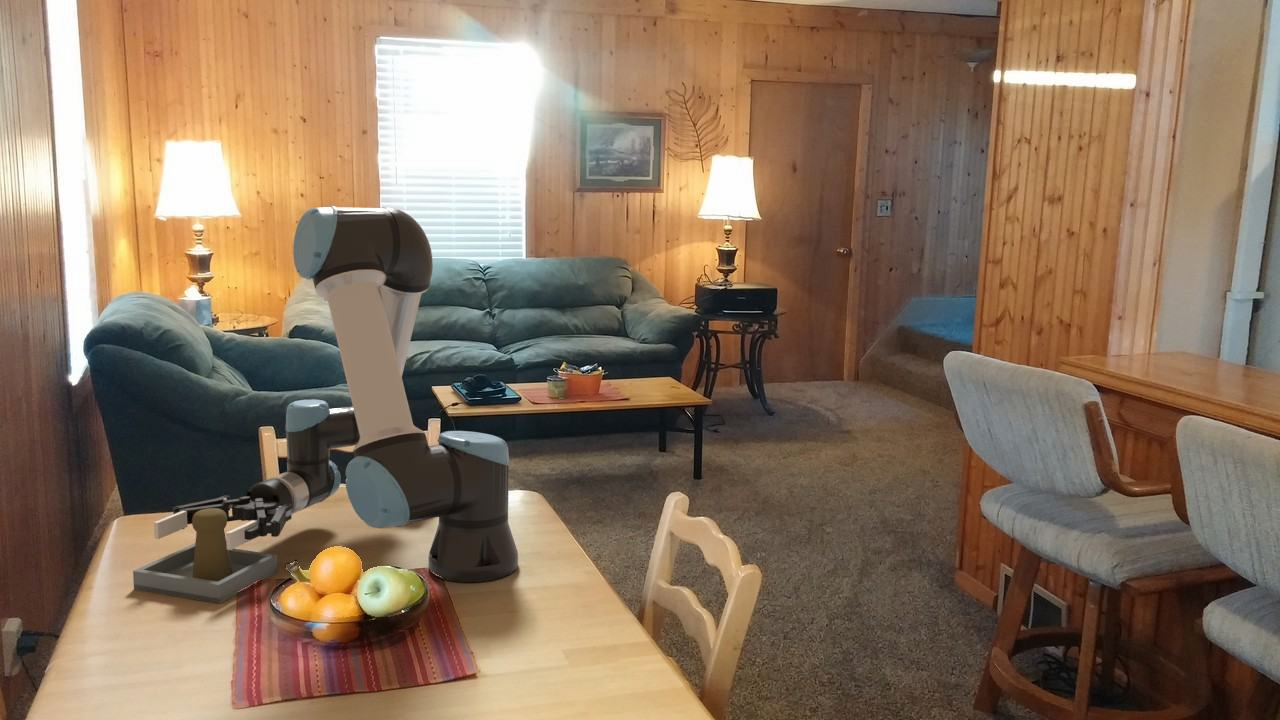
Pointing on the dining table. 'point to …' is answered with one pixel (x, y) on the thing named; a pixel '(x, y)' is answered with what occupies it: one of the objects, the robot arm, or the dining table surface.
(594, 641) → the dining table surface
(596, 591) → the dining table surface
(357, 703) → the dining table surface
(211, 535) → the cork
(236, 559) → the tray
